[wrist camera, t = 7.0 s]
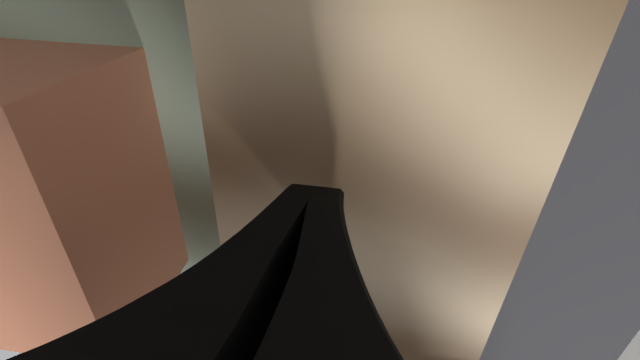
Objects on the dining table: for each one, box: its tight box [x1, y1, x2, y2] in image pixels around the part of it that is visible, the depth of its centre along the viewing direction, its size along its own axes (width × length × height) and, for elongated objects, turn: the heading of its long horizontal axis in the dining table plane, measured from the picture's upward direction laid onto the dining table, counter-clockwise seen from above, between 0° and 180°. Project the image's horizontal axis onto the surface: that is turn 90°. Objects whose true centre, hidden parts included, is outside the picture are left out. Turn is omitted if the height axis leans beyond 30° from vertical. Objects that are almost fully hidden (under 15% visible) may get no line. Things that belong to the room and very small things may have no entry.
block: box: [0, 38, 189, 353], centre depth 10 cm, size 7×7×4 cm
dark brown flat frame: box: [0, 0, 629, 360], centre depth 11 cm, size 17×27×2 cm, turn 88°
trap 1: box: [479, 0, 640, 360], centre depth 10 cm, size 15×4×1 cm, turn 178°
